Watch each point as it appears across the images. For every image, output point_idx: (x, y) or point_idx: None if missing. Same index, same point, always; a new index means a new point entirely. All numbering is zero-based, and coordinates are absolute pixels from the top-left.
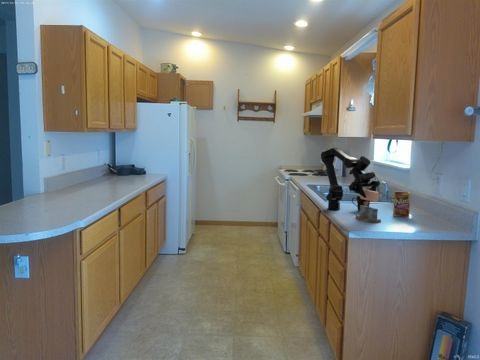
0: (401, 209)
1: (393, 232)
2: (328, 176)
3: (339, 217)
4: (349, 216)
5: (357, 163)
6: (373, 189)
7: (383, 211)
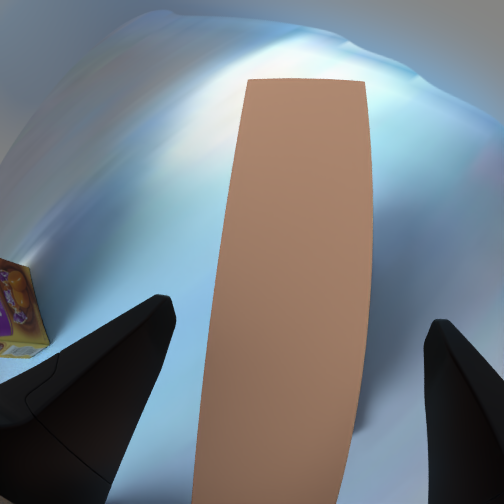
0: (5, 294)
1: (387, 61)
2: None
3: None
4: None
5: None
6: (60, 419)
7: None
